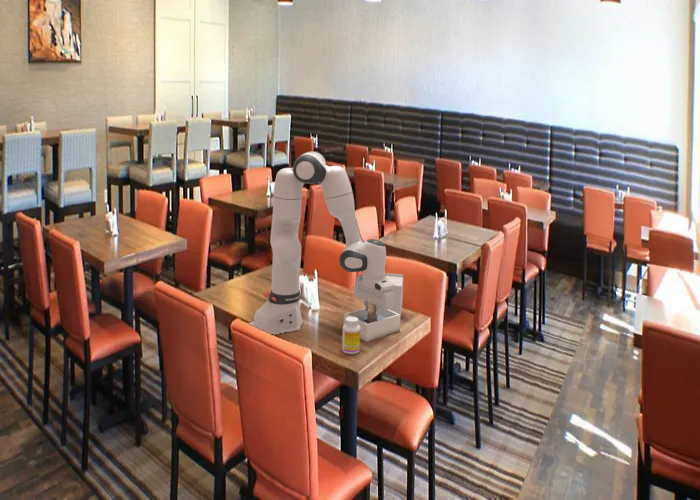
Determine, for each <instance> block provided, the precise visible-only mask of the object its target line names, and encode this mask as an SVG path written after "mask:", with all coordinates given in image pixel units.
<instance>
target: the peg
mask: <svg viewBox="0 0 700 500" xmlns="http://www.w3.org/2000/svg"><path fill="white" fill-rule="evenodd" d="M370 300H371V298H369V301H368V313H367V323H372V322H375V321H377V316H376V315H374V311H375V310H376V309H377V308H376V305H374V304H372V303H371V302H370Z"/></svg>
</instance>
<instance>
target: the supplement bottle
mask: <svg viewBox="0 0 700 500" xmlns="http://www.w3.org/2000/svg"><path fill="white" fill-rule="evenodd" d="M345 322H346V324H345V325H344V324H343V325H342V334H341V336H342V337H341V339H342V340H341V342H342V343H341V351H342V352H343V353H345V354H348V355H355V354H358V353H359V352H360V351H361V339H360V330H361V328H360V326H359V325H358V318H356V317H347V318H346V321H345Z"/></svg>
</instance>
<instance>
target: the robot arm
mask: <svg viewBox="0 0 700 500" xmlns="http://www.w3.org/2000/svg"><path fill="white" fill-rule="evenodd" d="M305 184H307V185H308V184H309V185H320V187H321V189H322V194H323V198H324V202H325V205H326V207H327V210H328V213H329V214H330V215H331V216H332V217H334V218H336V219H337V220H338V221H339V222H340V224H341V227H342V231H343V234H344V238H345V248H344V249H343V251H342V252H341V253H340V255H339V266H340V267H341V269H343V270H344V271H346V272H348V273H359V272H360V273H361V272H362V275H361V274H358V275H357V276H355V282H354V287H353V295H354V296H355V297H356V298H359V299H360V300H362V301H363V304H364V308H365V310H366V311H368V301H369V298H371V300H370V302H371V303H372V304H374V305H376V308H377V309H376V310H375V311H374V315H376V316H378V315H380V310H381V309H382V308H383V309H385V310H387V309H391V308H392V307H393V305H394V292H393V290H392V289H393V288H394V284H393V283H392V282H391V281H390V280H389V279H388V278H387V277H386V269H385V266H386V263H387V249H386V245H385V243H383V242H382V241H380V240H378V239H375V238H370V239H366V240H365V241H364V240H363V238H362V235H361V232H360V228H359V224H358V220H357V216H356V210H355V207H356V206H355V199H354V191H353V189H352V185H351V181H350V178H349V175H348V174H347V171H346V169H345V168H344V167H342V166H340V165H331V166H330V165H328V163H327V160H326V157H325V156H324V154H322V153H321V152H319V151H316V150H315V151H314V150H310V151H308V152H303V154H301V155H300V156H298V157H297V158H296V159H295V161H294V162H293V165H292V167H284V168H281V169H280V170H278V171H277V173H276V177H275V180H274V187H273V199H272V201H273V202H272V218H271V219H272V220H271V226H270V227H271V230H270V245H271V250H272V264H271V265H272V266H271V290H270V292H267V291H264V292H263V297H264V298H266V299H267V300H266V302H264V304H262V305H261V306H260V308H258V309H257V310H256V311H255V313H254V317H253V321H251V322H248V324H251V325H253V326H255V327H257V328H259V329H261V330H264V331H266V332H268V333H270V334H273V335H272V336H275V335H280V333H281V334H285V332H287V333H292V332H296V331H300V330H301V326H302V325H303V323H304V322H303V317H302V313H301V307H300V300H301V290H300V269H301V261H302V260H301V259H302V244H301V242H300V240H299V239H300V238H299V228H300V222H301V219H302V203H303V188H304V185H305Z"/></svg>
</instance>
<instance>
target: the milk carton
mask: <svg viewBox="0 0 700 500" xmlns="http://www.w3.org/2000/svg"><path fill="white" fill-rule="evenodd" d="M385 276H386V277H387V278H388V279H389V280H390V281H391V282H392V283H393V284H394V288H393V289H392V290H393V292H394V305H393V307H392V308H391V309H389V310H391V311H393V312H396V313H398V314H400V315H401V316H402V310H403V297H404V296H403V295H404V294H403V293H404V274H400V273H390V272H385Z"/></svg>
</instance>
